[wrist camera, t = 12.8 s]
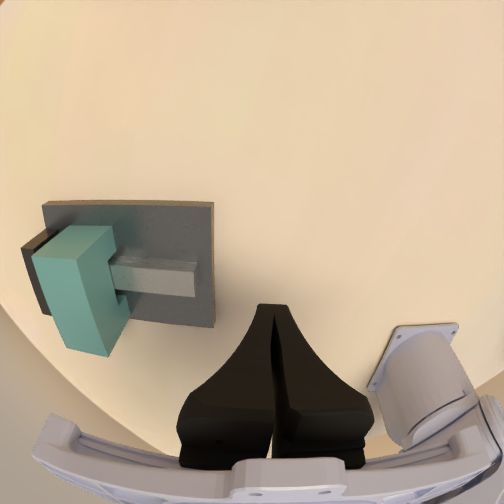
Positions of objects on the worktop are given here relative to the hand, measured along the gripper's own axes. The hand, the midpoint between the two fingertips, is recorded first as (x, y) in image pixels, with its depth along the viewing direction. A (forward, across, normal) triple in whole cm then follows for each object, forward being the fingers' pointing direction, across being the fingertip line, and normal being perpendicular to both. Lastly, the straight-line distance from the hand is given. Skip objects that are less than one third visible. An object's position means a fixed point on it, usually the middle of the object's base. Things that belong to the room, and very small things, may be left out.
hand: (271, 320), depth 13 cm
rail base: (+8, +11, +2) cm, 14 cm away
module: (+7, +13, +2) cm, 15 cm away
